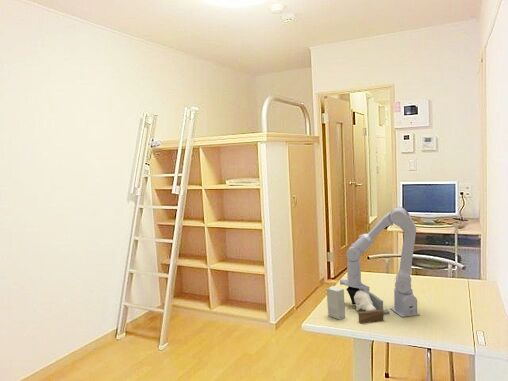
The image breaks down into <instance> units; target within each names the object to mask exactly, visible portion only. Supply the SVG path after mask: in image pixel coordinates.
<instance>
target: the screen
mask: <svg viewBox="0 0 508 381" xmlns="http://www.w3.org/2000/svg"><path fill="white" fill-rule="evenodd" d="M367 293H368V294H369V296H370V298H371V301H372V302H373V306H374V307H375V308H376V310H381V309H382V310H383V316H384V315H390V311H389V310H387V309H384V300H382V299H381V298H380V297H378V296H376V295H375V294H374V293H372V292H371V291H369V292H367Z"/></svg>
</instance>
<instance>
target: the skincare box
mask: <svg viewBox="0 0 508 381" xmlns="http://www.w3.org/2000/svg"><path fill="white" fill-rule="evenodd" d="M326 301H327V302H326V303H327V316H328V317H332V318H334V319H336V320H342V319H344V318H346V309H345V308H346V307H345V289H344V288H341V287H337V286H334V285H332V286H329V287H327V288H326Z"/></svg>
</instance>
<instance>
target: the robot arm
mask: <svg viewBox="0 0 508 381" xmlns="http://www.w3.org/2000/svg"><path fill="white" fill-rule="evenodd" d="M393 225H395V226H397V227H399V228H400V229H401V230H402V231H403V240H402V248H401V254H400V255H401V256H400V260H399V261H400V263H399V269H398V273H397V274H396V277H395V283H394V289H393V290H394V294H393V295H394V297H393V298H394V306H393V307H392V306H391V307H390V308H389V309H390V310H392V311H393V312H394V313H396V314H397V315H399V316H400V317H401V318H403V317H405V318H406V317H407V318H408V317H413V316H420V313H419V312H418V298H417V297H416V296H415V295H414V292H413V288H412V277H411V271H412V264H413V257H414V248H415V243H416V234H417V225H415V222H414V221H413V218H412V217H411V215H410V213H409V212H408V211H407V210H406V209H405V208H404V207H402V206H396V207H394V208H393V209H392V210H391V211H389V212H388V213H386V214H385V215H384V216H383V217H382V218H381V219H379V221H378V222H377V223H376V224H375V225H374V226H373V227H372V229H371V230H370V231H369V232H368V233H362V234H359V235H358V239H357V240H356V241H355V242H354V243H353V242H352V243H351V245H350V246H349V248H347V250H346V254H345V256H346V258H347V263H346V264H347V265H346V268H347V273H346V274H347V279H344V278H343V279H339V285H341V286H342V285H343V286H347V288H346V292H347V293H348V295H349V297H350V300H351V304H352V305H354V306H356V303H355V301H354V296H355V294H356V292H357V291H359V290H364V291H365V292H370V286H368V285H366V284H364V283H362V278H361V277H362V270H361V266H362V264H361V256H362V254H364V253H366V251H367V250H368V249H369V248H370V247H371V246H372V245H373V244H374V239H375V238H376V237H377V236H378V235H379V234H380V233H381V232H382V231H383V230H384V229H385V228H386V227H392V226H393Z"/></svg>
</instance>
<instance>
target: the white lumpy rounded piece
mask: <svg viewBox="0 0 508 381" xmlns="http://www.w3.org/2000/svg"><path fill="white" fill-rule="evenodd" d="M354 301H355V303H356V304H355V307H356V311H357V312H360V310H362V311H363V310H364V311H373V310H376V308H375V307H374V306H373V302H372V301H371V298H370V296H369V294H368V293H367V292H365V291H364V290H359V291H357V292H356V294H355V296H354Z"/></svg>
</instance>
